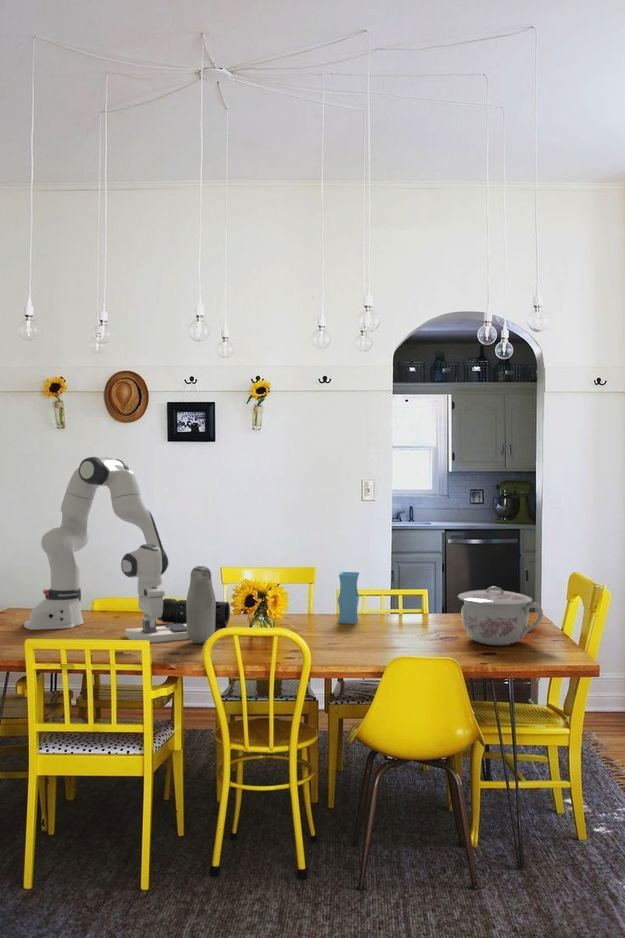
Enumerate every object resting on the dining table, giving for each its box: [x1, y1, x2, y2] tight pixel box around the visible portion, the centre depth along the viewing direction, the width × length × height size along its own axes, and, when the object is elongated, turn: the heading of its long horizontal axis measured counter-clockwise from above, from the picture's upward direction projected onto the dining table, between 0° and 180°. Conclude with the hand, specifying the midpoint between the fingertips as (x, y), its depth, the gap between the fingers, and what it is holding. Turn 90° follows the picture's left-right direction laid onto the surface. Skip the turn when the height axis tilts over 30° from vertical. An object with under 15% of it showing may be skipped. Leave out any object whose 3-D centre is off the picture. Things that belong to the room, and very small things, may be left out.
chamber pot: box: [457, 586, 544, 647], centre depth 303 cm, size 28×28×21 cm
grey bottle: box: [186, 565, 217, 645], centre depth 295 cm, size 10×10×28 cm
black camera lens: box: [156, 598, 231, 628], centre depth 325 cm, size 10×28×10 cm, turn 81°
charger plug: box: [141, 614, 157, 633], centre depth 302 cm, size 4×4×6 cm
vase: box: [337, 571, 360, 625], centre depth 336 cm, size 8×8×20 cm
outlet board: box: [125, 623, 190, 644], centre depth 304 cm, size 24×14×3 cm, turn 117°
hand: (149, 625), depth 302 cm, fingers closed on charger plug, 4 cm apart
